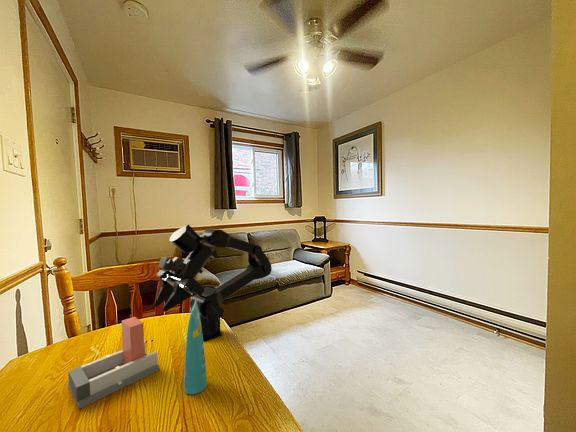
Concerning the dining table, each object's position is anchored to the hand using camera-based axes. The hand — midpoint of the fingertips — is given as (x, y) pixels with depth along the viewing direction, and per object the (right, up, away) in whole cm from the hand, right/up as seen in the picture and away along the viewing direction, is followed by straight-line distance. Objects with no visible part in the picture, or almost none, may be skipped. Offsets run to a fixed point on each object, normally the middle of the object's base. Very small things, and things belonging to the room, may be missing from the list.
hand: (159, 308), depth 68 cm
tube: (+15, -14, -12) cm, 23 cm away
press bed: (-7, -14, -8) cm, 17 cm away
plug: (-4, -12, -5) cm, 14 cm away
